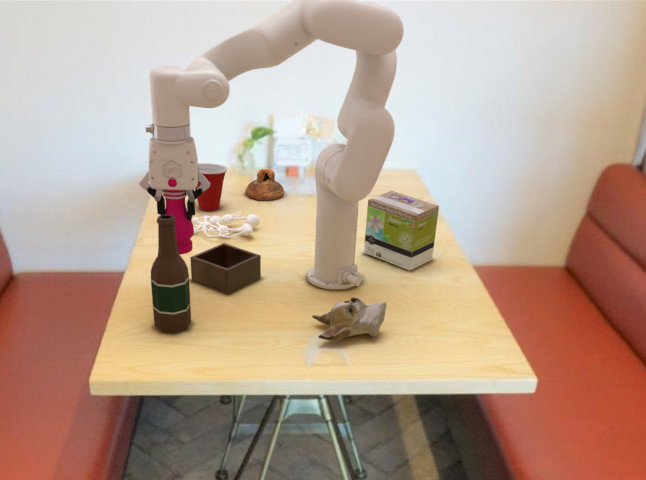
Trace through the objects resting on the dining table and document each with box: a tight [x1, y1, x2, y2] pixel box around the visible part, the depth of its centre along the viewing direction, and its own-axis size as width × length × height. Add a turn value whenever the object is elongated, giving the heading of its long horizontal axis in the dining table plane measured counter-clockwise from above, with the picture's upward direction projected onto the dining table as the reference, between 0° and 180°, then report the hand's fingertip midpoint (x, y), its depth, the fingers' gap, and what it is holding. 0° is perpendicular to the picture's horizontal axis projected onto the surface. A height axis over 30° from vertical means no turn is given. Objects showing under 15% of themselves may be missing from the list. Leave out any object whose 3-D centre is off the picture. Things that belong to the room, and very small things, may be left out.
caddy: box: [189, 242, 262, 295], centre depth 189 cm, size 12×12×6 cm
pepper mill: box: [162, 177, 195, 256], centre depth 171 cm, size 7×7×20 cm
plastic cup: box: [194, 162, 228, 212], centre depth 228 cm, size 11×11×12 cm
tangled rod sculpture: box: [191, 211, 261, 239], centre depth 215 cm, size 19×14×4 cm
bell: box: [245, 168, 285, 201], centre depth 240 cm, size 12×12×7 cm
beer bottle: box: [150, 214, 192, 334], centre depth 164 cm, size 8×8×24 cm
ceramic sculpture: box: [311, 297, 387, 342], centre depth 167 cm, size 11×9×15 cm
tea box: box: [363, 190, 440, 272], centre depth 200 cm, size 15×10×15 cm, turn 47°
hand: (176, 217), depth 173 cm, fingers closed on pepper mill, 5 cm apart
